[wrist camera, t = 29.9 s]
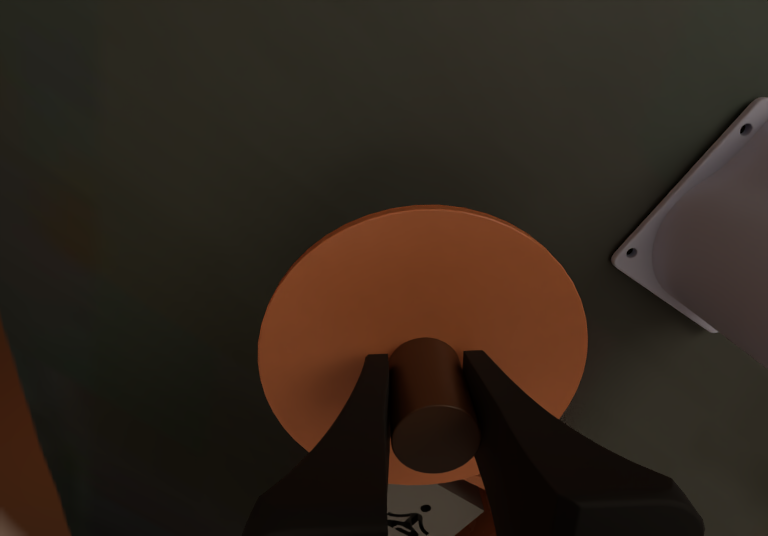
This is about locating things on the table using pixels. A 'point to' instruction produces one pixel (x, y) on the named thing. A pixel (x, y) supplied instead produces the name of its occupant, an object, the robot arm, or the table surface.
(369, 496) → the robot arm
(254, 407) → the table surface
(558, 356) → the lid
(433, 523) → the dice cube
